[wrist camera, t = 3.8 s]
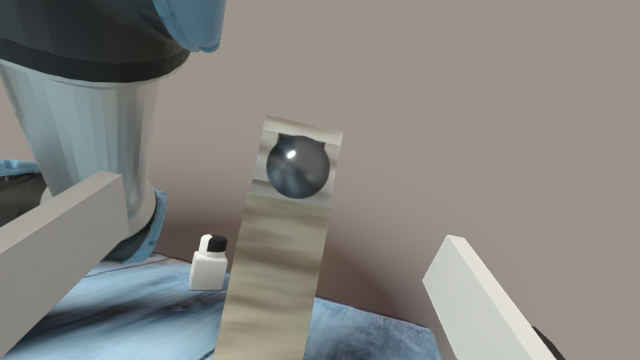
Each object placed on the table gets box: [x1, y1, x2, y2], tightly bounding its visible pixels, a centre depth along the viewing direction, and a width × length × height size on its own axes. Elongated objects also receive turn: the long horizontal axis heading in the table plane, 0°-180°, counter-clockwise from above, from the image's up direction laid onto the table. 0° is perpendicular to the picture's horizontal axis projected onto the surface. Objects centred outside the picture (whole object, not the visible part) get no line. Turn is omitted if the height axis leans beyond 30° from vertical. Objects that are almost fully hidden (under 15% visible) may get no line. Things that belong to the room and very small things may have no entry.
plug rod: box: [266, 135, 330, 199], centre depth 26 cm, size 26×4×4 cm, turn 6°
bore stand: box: [213, 115, 343, 360], centre depth 32 cm, size 12×12×33 cm
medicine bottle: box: [189, 234, 228, 290], centre depth 65 cm, size 7×7×12 cm
